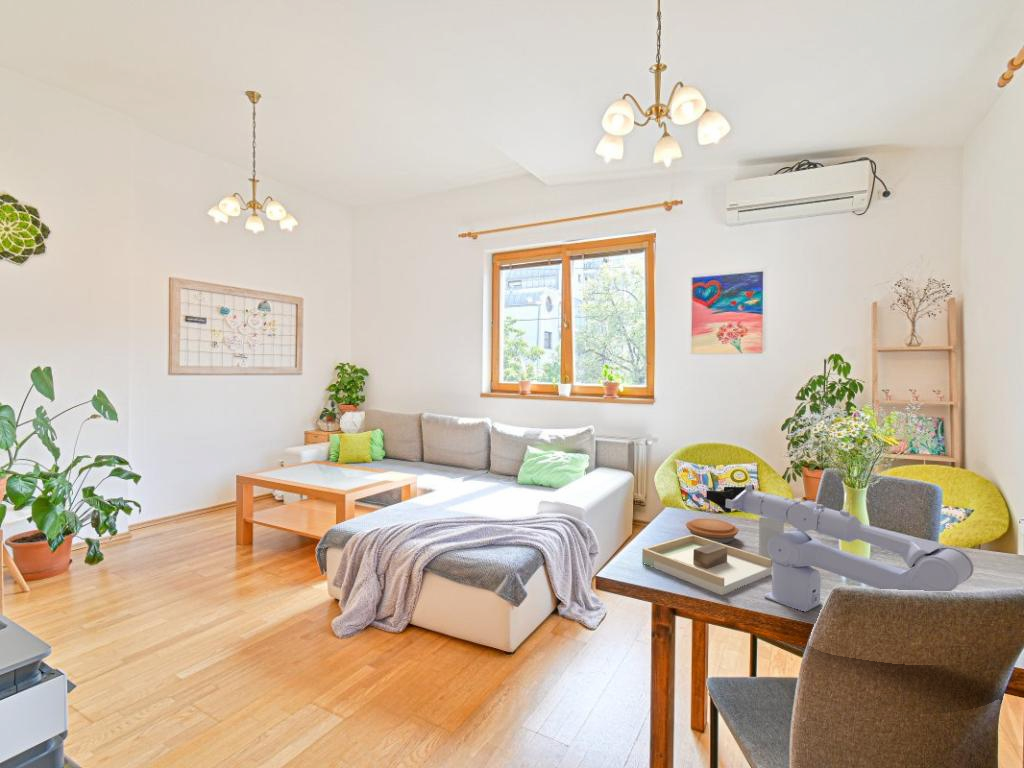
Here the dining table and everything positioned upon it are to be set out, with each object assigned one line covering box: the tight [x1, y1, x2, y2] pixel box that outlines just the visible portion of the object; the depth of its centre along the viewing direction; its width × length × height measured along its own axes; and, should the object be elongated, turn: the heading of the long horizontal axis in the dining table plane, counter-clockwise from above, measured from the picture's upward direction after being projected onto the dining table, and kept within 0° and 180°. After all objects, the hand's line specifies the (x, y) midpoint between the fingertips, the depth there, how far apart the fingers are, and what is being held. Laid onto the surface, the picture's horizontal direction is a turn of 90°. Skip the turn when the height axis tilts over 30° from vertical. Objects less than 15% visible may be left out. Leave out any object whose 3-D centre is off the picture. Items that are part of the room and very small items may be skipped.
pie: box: [685, 518, 740, 545], centre depth 163 cm, size 15×16×5 cm
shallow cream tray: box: [641, 534, 772, 596], centre depth 138 cm, size 24×22×4 cm
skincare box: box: [758, 516, 785, 559], centre depth 145 cm, size 6×4×12 cm
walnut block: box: [693, 543, 727, 569], centre depth 136 cm, size 4×9×4 cm, turn 125°
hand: (715, 492), depth 135 cm, fingers open, 7 cm apart
